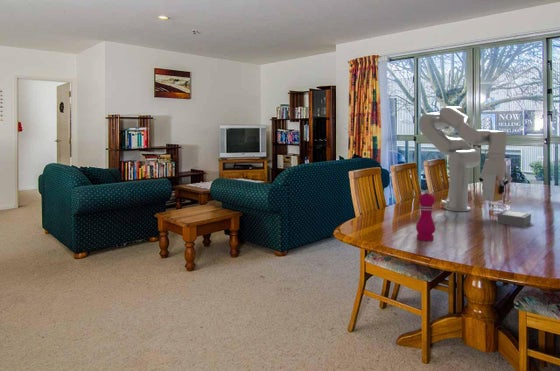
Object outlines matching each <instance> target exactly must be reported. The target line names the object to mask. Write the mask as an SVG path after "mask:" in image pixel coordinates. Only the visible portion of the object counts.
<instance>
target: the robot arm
mask: <svg viewBox="0 0 560 371" xmlns="http://www.w3.org/2000/svg"><path fill="white" fill-rule="evenodd" d="M470 123H471V118H470V117H469V116H468V115H467V114H466V110H465V109H464V108H463V107H461V106H457V105H456V106H454V105H453V106H452V105H451V106H449V105H447V106H444V107H442V108H441V109H440V111H439V112H427V113H424V114H422V115H421V117H420V118H419V120H418V128H419V130H420V132H421V134H422V136H424V138H426V139H427V140H428V141H429V142H430V143H431V144H432V145H433V147H435V148H436V149H437V150H438V151H439V152H440V153H441V154H442V155H443V156H448V159H447V162H448V163H447V164H448V171H449V172H448V173H449V176H448V177H449V178H448V199H447V200H443V199H441V201H440V203H441V205H445V206H444V209H445V210H448V211H450V212H451V211H452V212H469V211H471V207H470V206H468V202H469V201H468V200H469V199H468V197H469V182H470V181H469V180H470V179H469V178H470V176H469V175H470V174H469V172H468V169H469V168H470V169H471V168H475V167H478V166H479V164H480V163H481V154H480V153H479V152H478V150H476V149H475V148H474V147H473V146H488V147H487V148H488V149H487V153H484V157H486V158H485V160H484V162H483V167H482V171H481V172H479V173H478V174H476V178H477V179H478V180H479V182H480V183H481V184H482V186H481V190H482V191H483V181H484V174H492V175H498V181H500V183H501V186H500V192H499V194H503V195H504V193H505V187H506V185H508V184H509V183H510V182H511V181H512V180H513V177H512V176H511V175H509V173H508V172H507V170H508V169H507V167H508V166H507V165H508V164H507V160H506V151H507V150H506V148H507V140H508V139H507V137H508V133H507V131H504V130H492V129H475V128H474V127H472V126H471V125H470ZM447 127H451V128H453V129H454V130H456V131H457V134H458V136H459V137H450V136H449V135H447V134H446V133H445V132H444V131H443V130H441V129H442V128H447ZM506 179H507V180H506Z"/></svg>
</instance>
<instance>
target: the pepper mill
mask: <svg viewBox="0 0 560 371" xmlns="http://www.w3.org/2000/svg"><path fill="white" fill-rule="evenodd" d="M435 201H436V199H435V197H434V195H432V194H431V193H430V190H429V189H425V190H424V193H422V194H421V195H420V196H419V198H418V203H419V209H420V216H419V219H418V221H417V223H416V226H415V230H416V232H417V235H416V239H417V240H419V241H422V242H432V241H434V233H435V232H436V226H435V222H434V220H433V215H432V214H433V213H432V212H433V210H434V206H433V205H434V204H435Z"/></svg>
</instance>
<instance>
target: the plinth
mask: <svg viewBox="0 0 560 371" xmlns="http://www.w3.org/2000/svg"><path fill="white" fill-rule="evenodd" d="M531 219H532V213H526V212H518V211H513V210H512V211H509V210H505V211H503V212H500V213H498V214H497V221H496V223H497V224H501V225H503V224H504V225H510V226H516V227H523V228H524V227H526V226H527V225H529V224H530V223H531Z"/></svg>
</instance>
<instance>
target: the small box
mask: <svg viewBox="0 0 560 371" xmlns="http://www.w3.org/2000/svg"><path fill="white" fill-rule="evenodd" d="M500 186H501V183H500V181H498V175H492V174H484V181H483V190H482V193H481V194H482V195H481V200H482V201H488V202H493V203H495V202H499V201H503V196H504V193H503V194H499V192H500Z"/></svg>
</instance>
